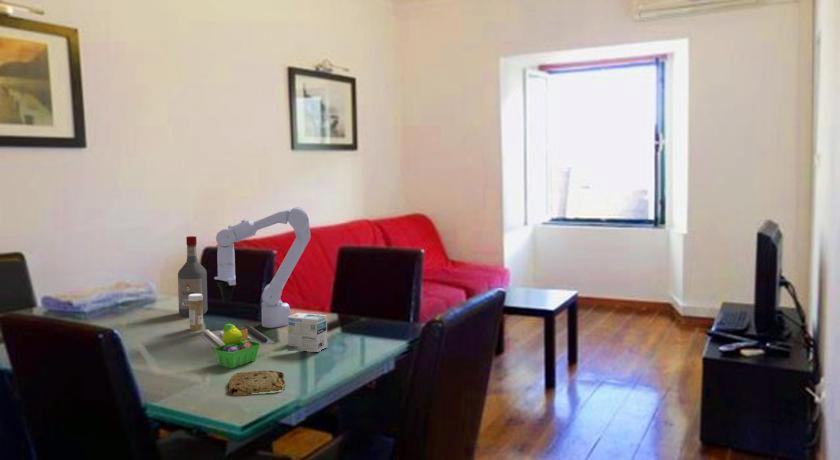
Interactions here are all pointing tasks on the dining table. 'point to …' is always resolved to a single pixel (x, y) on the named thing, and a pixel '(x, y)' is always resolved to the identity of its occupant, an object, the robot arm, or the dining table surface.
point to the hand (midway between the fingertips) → (227, 302)
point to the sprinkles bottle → (195, 312)
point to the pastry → (256, 382)
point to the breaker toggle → (243, 333)
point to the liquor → (191, 279)
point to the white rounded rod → (214, 337)
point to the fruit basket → (235, 348)
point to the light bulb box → (307, 332)
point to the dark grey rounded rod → (256, 333)
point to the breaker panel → (220, 335)
